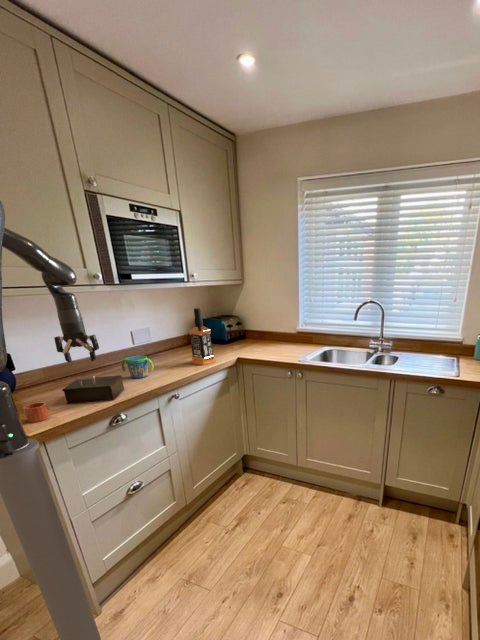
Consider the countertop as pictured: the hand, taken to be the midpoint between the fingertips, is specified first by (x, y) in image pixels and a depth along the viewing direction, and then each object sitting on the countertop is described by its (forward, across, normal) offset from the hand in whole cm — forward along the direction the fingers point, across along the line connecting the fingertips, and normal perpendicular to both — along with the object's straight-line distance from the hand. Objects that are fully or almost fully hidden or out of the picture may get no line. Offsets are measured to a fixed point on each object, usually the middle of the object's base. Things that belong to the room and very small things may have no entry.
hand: (81, 361), depth 134 cm
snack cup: (+18, +11, +34) cm, 40 cm away
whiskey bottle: (+18, +42, +57) cm, 73 cm away
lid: (+11, 0, +6) cm, 13 cm away
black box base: (+17, 0, +6) cm, 18 cm away
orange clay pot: (+17, -12, -17) cm, 27 cm away
